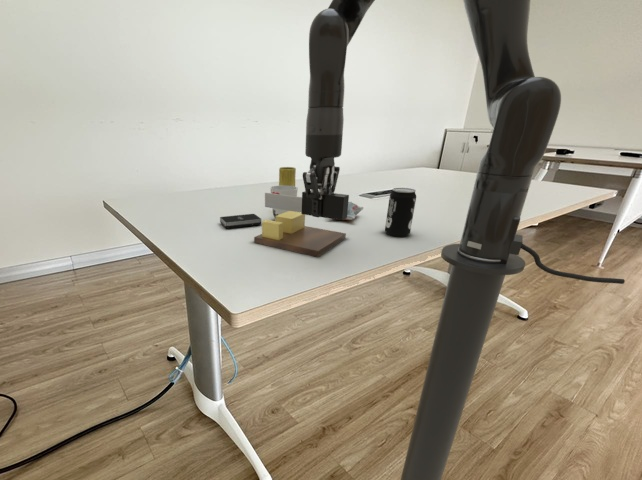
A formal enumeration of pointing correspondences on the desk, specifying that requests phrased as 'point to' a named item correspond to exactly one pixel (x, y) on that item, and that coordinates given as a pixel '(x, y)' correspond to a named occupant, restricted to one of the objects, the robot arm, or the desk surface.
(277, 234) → the butter slice
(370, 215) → the desk surface
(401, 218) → the beverage can
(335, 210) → the knife
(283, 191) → the cup
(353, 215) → the packaged food
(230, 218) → the external hard drive
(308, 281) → the desk surface
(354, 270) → the desk surface
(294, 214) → the butter
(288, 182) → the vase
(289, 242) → the board
